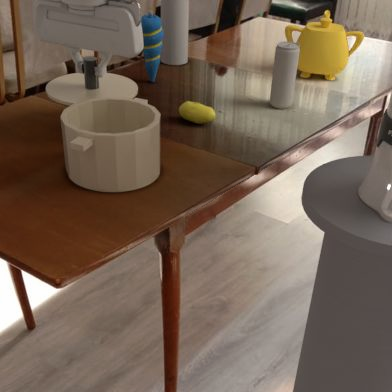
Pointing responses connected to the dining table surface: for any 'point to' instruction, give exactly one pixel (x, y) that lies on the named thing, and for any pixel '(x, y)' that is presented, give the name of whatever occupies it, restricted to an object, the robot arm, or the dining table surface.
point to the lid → (89, 85)
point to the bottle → (174, 31)
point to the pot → (112, 143)
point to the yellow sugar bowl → (323, 47)
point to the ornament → (152, 42)
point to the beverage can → (284, 74)
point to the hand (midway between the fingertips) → (91, 74)
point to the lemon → (196, 112)
